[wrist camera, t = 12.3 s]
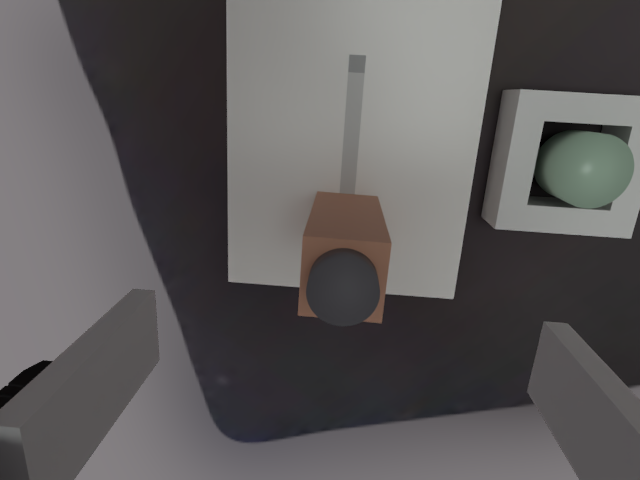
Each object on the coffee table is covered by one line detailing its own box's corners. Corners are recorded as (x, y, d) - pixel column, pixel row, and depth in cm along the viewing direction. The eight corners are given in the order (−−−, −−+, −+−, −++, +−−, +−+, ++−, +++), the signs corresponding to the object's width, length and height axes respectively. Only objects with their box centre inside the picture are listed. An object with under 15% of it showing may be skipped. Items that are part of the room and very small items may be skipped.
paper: (227, -35, 26) (225, -37, 26) (504, -22, 26) (506, -23, 25) (229, 280, 32) (228, 281, 32) (452, 297, 32) (453, 299, 31)
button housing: (502, 90, 27) (520, 89, 25) (636, 97, 27) (670, 97, 24) (481, 216, 30) (494, 229, 27) (603, 224, 29) (631, 238, 27)
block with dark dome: (317, 191, 30) (299, 245, 19) (377, 196, 30) (394, 253, 19) (313, 248, 31) (294, 329, 20) (371, 253, 31) (383, 338, 20)
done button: (541, 127, 26) (564, 131, 23) (611, 131, 26) (643, 136, 23) (527, 194, 27) (548, 205, 25) (594, 199, 27) (623, 211, 24)
